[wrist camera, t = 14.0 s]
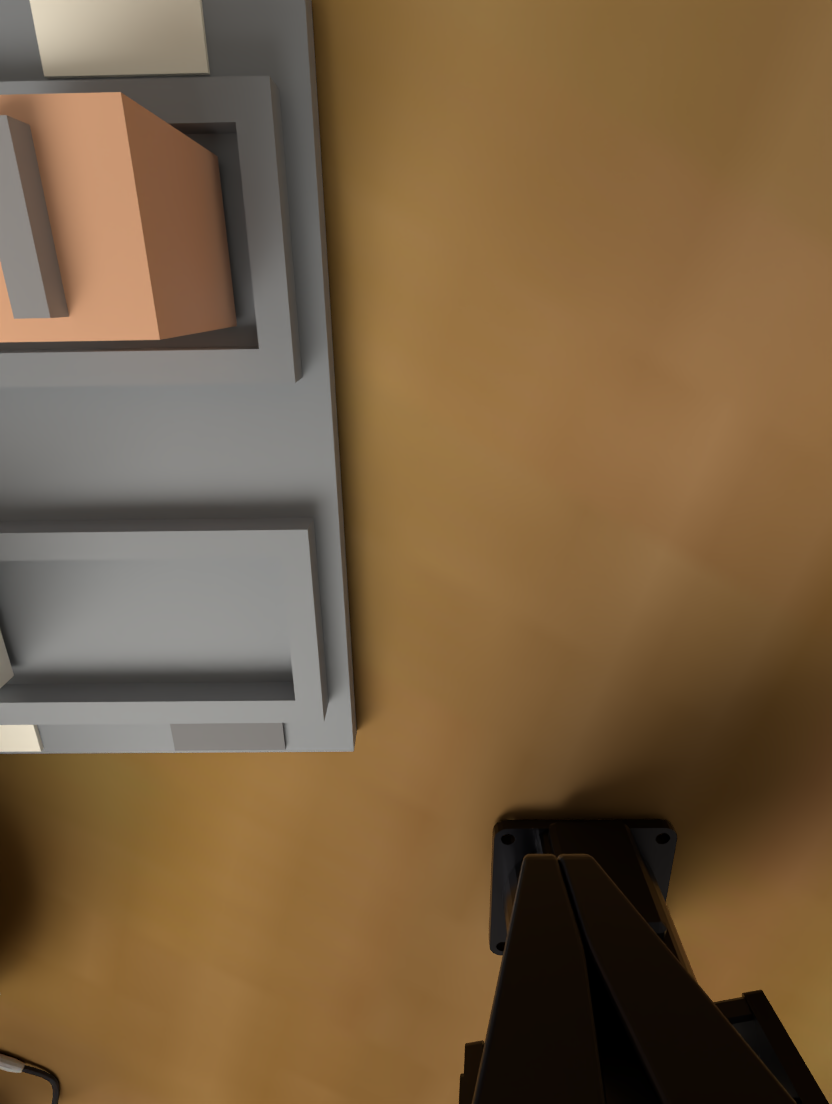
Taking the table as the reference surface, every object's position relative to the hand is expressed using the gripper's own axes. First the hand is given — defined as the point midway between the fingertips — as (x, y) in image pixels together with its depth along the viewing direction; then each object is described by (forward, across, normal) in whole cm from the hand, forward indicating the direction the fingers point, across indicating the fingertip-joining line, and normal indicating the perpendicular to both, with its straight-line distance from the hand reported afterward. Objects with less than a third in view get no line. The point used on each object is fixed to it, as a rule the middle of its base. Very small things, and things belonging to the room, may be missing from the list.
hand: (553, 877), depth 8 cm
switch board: (+12, +12, -3) cm, 17 cm away
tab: (+11, +8, -8) cm, 16 cm away
